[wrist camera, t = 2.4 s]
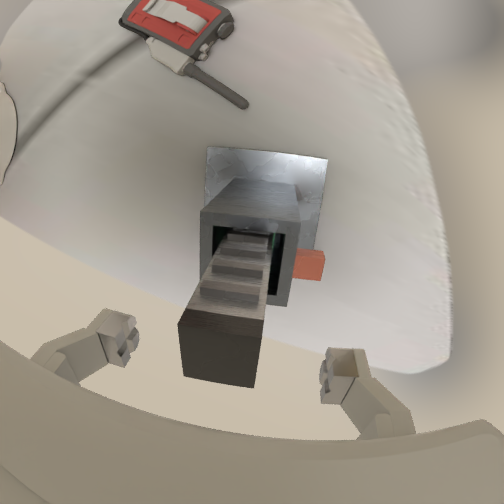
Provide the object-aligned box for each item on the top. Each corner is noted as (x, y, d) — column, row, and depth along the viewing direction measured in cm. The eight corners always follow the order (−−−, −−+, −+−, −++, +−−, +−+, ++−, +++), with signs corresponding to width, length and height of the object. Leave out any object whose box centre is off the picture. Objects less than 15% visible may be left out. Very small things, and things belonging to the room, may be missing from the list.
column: (244, 223, 29) (181, 376, 11) (246, 190, 27) (173, 314, 9) (274, 226, 29) (255, 390, 10) (278, 194, 27) (265, 329, 9)
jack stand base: (205, 251, 32) (164, 320, 20) (209, 146, 27) (155, 160, 15) (308, 264, 31) (319, 342, 20) (326, 158, 26) (359, 180, 14)
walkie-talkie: (114, 38, 22) (242, 116, 26) (94, 31, 18) (235, 113, 22) (157, -15, 19) (295, 55, 22) (142, -29, 15) (297, 42, 18)
